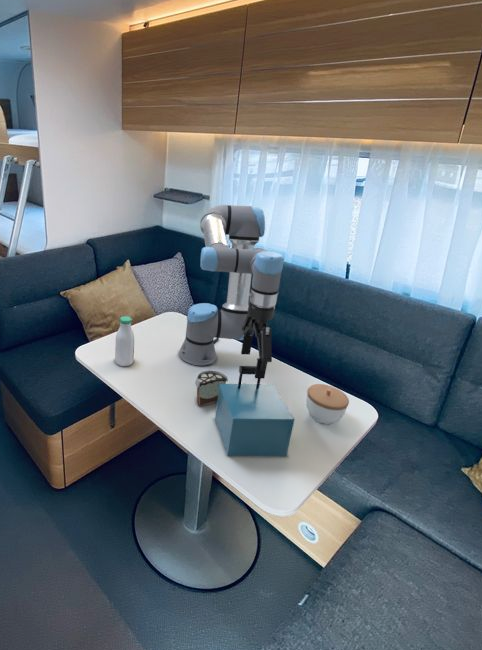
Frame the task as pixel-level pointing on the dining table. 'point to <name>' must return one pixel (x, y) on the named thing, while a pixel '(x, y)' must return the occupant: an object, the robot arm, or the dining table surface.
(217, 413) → the box
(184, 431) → the dining table surface
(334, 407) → the lidded bowl
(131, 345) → the milk bottle
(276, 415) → the freezer lid
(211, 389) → the food container
